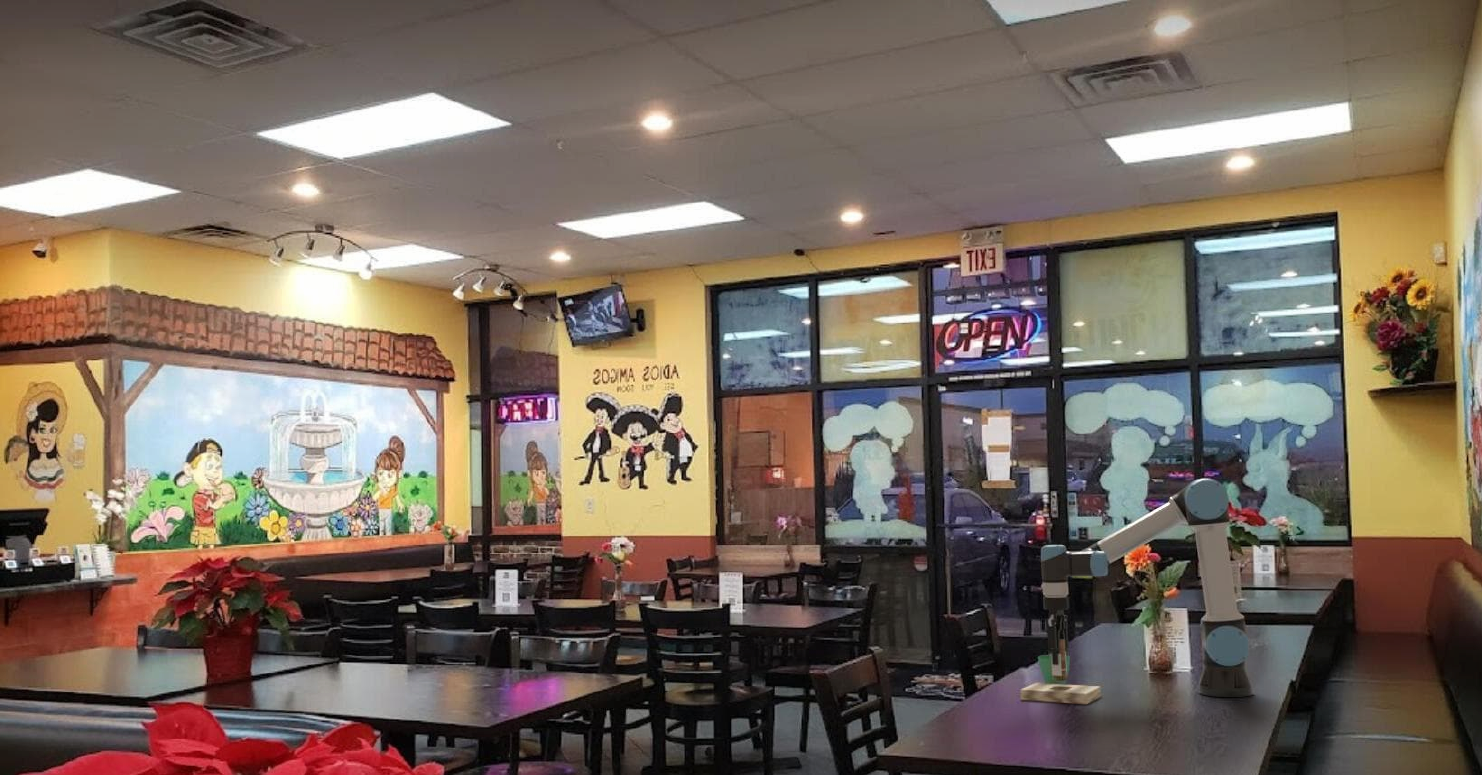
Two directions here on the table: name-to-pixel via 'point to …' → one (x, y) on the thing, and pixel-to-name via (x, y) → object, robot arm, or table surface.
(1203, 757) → the table surface
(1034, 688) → the board
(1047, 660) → the mug
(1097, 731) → the table surface
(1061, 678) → the peg
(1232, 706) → the table surface
